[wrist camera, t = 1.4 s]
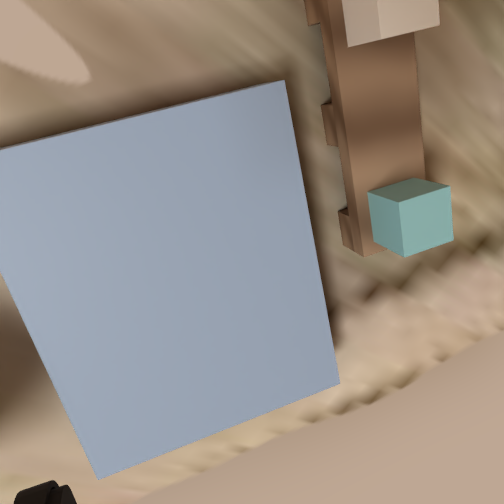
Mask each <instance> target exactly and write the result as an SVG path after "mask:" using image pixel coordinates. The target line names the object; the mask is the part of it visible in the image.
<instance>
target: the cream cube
mask: <svg viewBox="0 0 504 504" xmlns="http://www.w3.org/2000/svg"><path fill="white" fill-rule="evenodd" d="M342 6H343V13H344V21H345V28H346V36H347V43H348V47H352V46H356V45H360V44H364V43H368V42H373V41H377V40H381V39H385V38H389V37H393V36H398V35H402V34H406V33H410V32H414V31H418V30H422V29H426V28H430V27H434V26H439V25H440V18H439V3H438V0H342Z"/></svg>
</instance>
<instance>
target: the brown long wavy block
mask: <svg viewBox="0 0 504 504" xmlns="http://www.w3.org/2000/svg"><path fill="white" fill-rule="evenodd" d="M304 3H305V9H306V15H307V22H308V26H310V25H315V24H319V23H320V26H321V32H322V39H323V46H324V52H325V59H326V66H327V72H328V79H329V86H330V92H331V99H332V103H328V104H324V105H321V110H322V116H323V122H324V128H325V135H326V141H327V145H331V146H336V147H339V152H340V159H341V165H342V172H343V179H344V185H345V192H346V199H347V205H348V208H347V209H344V210H340V211H338V216H339V223H340V229H341V235H342V241H343V245H344V246H346V247H348V248H349V249H351V250H353V251H354V252H356V253H358V254H359V255H361V256H363V257H366V256H369V255H372V254H375V253H378V252H381V251H384V250H386V249H387V248H385V247H383V246H381V245H379V244H377V243H375V242H374V240H373V232H372V225H371V217H370V210H369V202H368V194H367V192H369V191H372V190H375V189H379V188H382V187H385V186H388V185H391V184H395V183H398V182H401V181H404V180H407V179H411V178H418V179H422V180H426V176H425V164H424V152H423V140H422V128H421V116H420V103H419V91H418V79H417V67H416V55H415V43H414V32H410V33H406V34H402V35H398V36H393V37H389V38H385V39H381V40H377V41H373V42H368V43H364V44H360V45H356V46H352V47H348V43H347V36H346V28H345V21H344V13H343V6H342V0H304Z"/></svg>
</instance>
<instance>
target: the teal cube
mask: <svg viewBox="0 0 504 504" xmlns="http://www.w3.org/2000/svg"><path fill="white" fill-rule="evenodd" d="M367 194H368V202H369V210H370V217H371V225H372V232H373V240H374V242H375V243H377V244H379V245H381V246H383V247H385V248H387V249H389V250H391V251H393V252H395V253H397V254H399V255H401V256H403V257H407V256H410V255H413V254H416V253H418V252H421V251H424V250H427V249H430V248H433V247H436V246H438V245H441V244H444V243H447V242H450V241H453V225H452V209H451V193H450V186H448V185H444V184H439V183H435V182H431V181H427V180H422V179H418V178H411V179H407V180H404V181H401V182H398V183H395V184H391V185H388V186H385V187H382V188H379V189H375V190H372V191H369V192H367Z"/></svg>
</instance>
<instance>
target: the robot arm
mask: <svg viewBox="0 0 504 504" xmlns="http://www.w3.org/2000/svg"><path fill="white" fill-rule="evenodd" d="M14 504H77V503H76V501H75V498H74V496H73V494H72V491H71V489H70V487H69V486H68V485H63V486H60V487H59V486H58V484H57V483H56V482H55V481H54V480H51V481H48V482H45V483H42V484H40V485H37V486H34V487H31V488H28V489H25V490H22V491H20V492H19V493H18V494H17V495H16V498H15V501H14Z"/></svg>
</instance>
